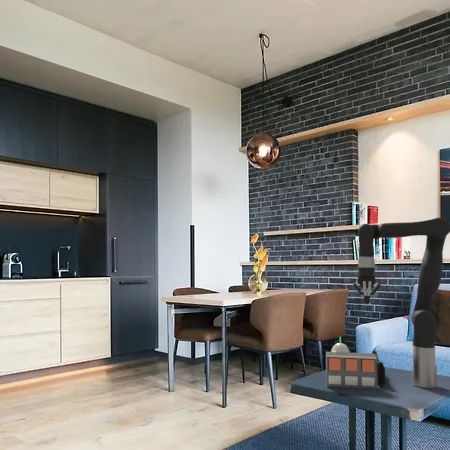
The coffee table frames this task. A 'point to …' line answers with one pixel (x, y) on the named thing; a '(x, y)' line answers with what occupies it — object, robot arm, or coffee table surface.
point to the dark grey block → (351, 372)
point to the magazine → (380, 371)
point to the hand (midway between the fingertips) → (366, 303)
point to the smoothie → (340, 348)
